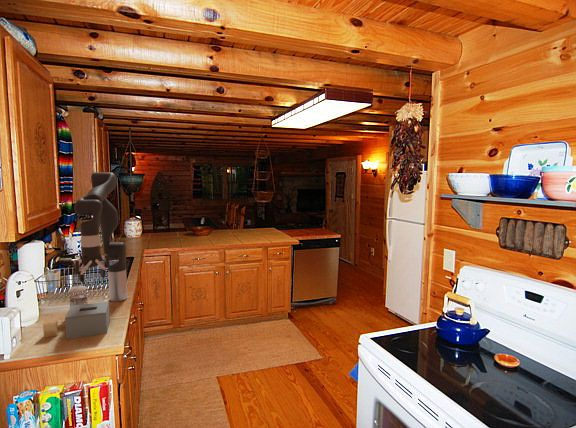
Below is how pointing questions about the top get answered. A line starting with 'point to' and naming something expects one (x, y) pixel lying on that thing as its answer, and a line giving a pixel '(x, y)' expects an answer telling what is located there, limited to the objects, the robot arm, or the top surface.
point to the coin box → (87, 319)
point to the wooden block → (50, 329)
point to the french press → (78, 295)
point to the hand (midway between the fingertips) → (92, 279)
